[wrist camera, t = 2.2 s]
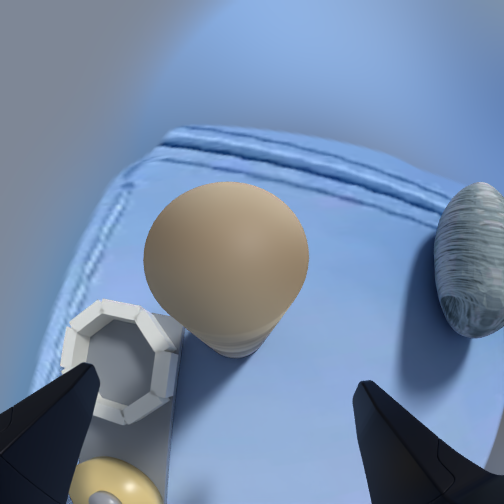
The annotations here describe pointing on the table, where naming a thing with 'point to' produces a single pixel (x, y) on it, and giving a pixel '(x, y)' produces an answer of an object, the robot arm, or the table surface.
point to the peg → (226, 264)
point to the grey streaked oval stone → (471, 261)
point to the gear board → (125, 401)
